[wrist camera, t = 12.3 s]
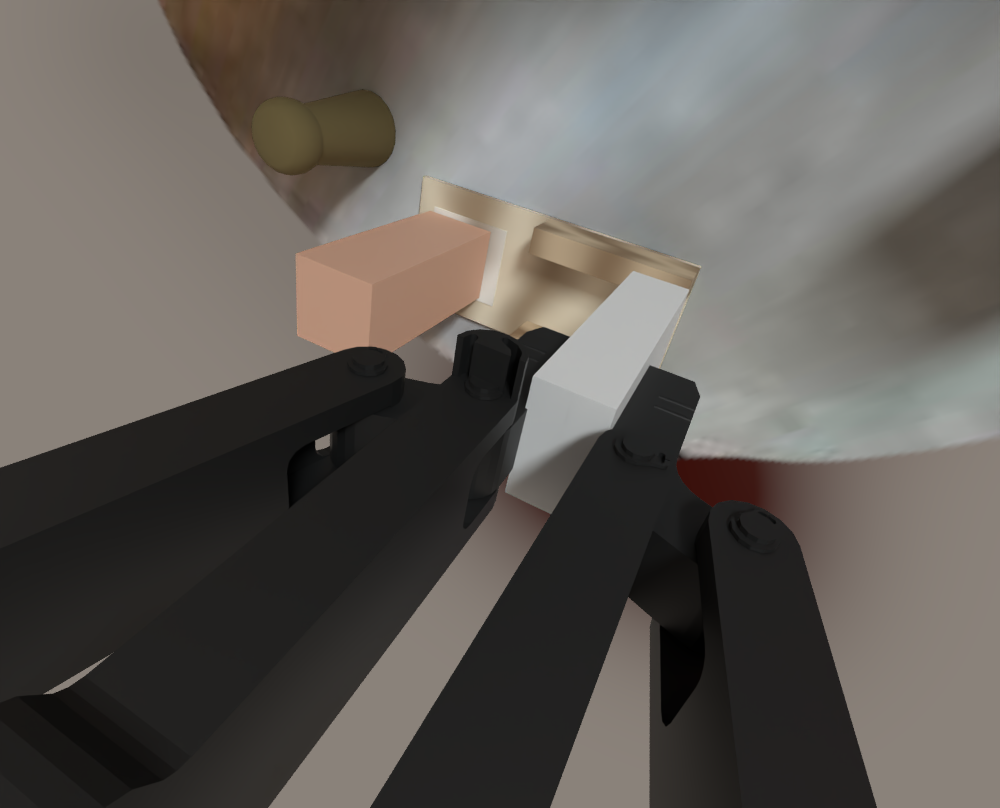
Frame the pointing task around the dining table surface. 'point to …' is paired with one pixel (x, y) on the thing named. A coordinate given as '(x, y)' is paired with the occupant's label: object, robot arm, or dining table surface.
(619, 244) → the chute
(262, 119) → the olive green pawn
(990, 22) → the dining table surface
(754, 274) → the dining table surface
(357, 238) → the post
